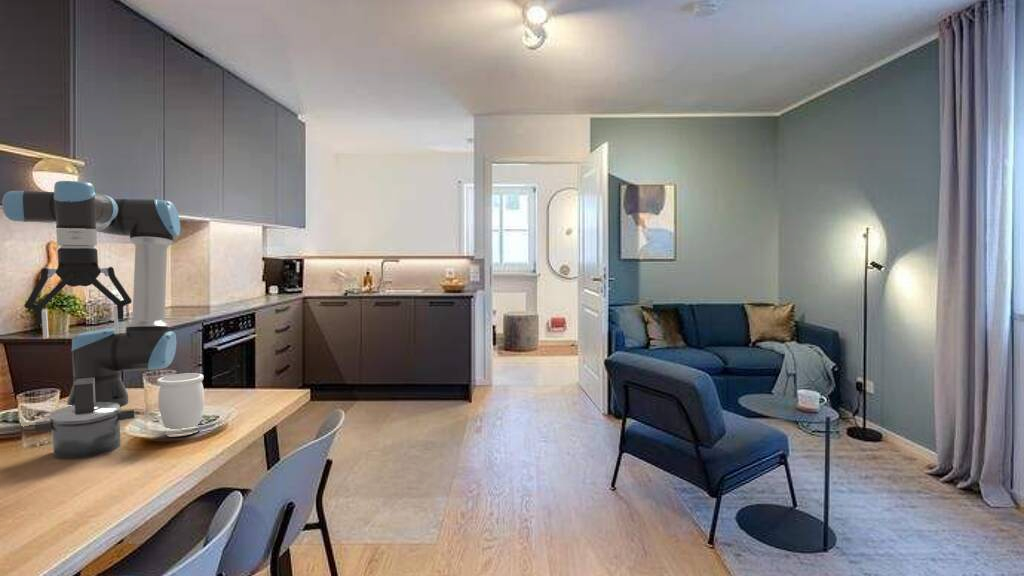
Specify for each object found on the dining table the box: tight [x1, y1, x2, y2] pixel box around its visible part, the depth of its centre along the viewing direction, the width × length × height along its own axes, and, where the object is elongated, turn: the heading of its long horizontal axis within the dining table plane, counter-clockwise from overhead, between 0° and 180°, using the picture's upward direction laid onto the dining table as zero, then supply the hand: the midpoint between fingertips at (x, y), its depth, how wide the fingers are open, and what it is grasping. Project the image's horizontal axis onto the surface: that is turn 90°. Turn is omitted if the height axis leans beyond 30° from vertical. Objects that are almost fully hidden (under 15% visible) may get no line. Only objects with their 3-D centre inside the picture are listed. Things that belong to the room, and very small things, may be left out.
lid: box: [49, 377, 121, 423], centre depth 135 cm, size 13×13×8 cm
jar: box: [157, 372, 205, 429], centre depth 148 cm, size 11×10×15 cm
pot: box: [34, 407, 135, 460], centre depth 136 cm, size 14×19×9 cm
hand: (82, 335), depth 136 cm, fingers open, 13 cm apart
